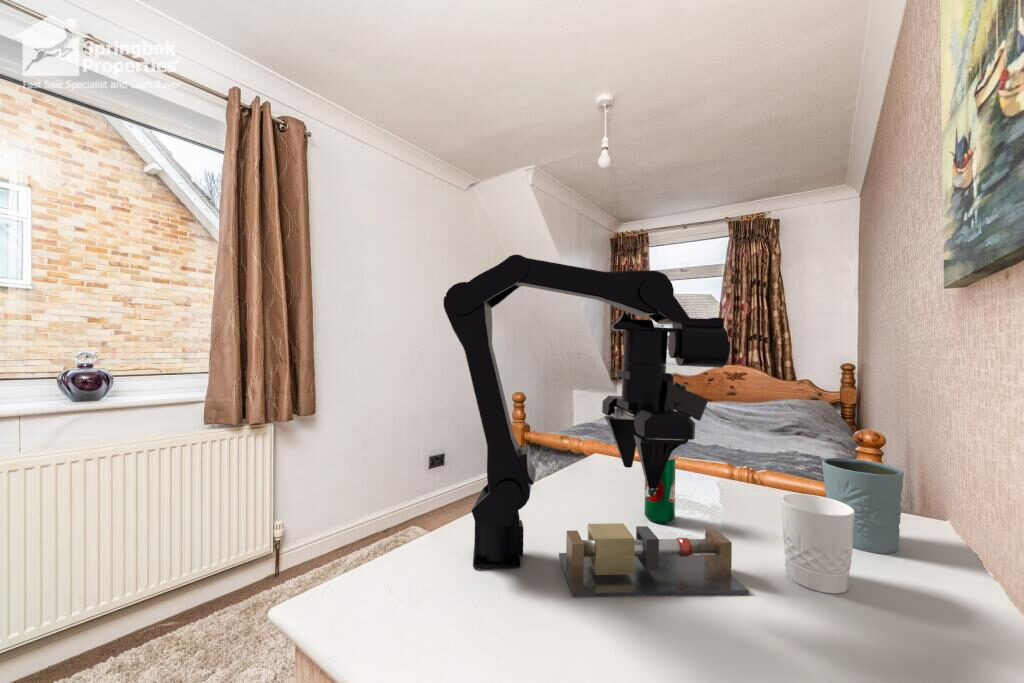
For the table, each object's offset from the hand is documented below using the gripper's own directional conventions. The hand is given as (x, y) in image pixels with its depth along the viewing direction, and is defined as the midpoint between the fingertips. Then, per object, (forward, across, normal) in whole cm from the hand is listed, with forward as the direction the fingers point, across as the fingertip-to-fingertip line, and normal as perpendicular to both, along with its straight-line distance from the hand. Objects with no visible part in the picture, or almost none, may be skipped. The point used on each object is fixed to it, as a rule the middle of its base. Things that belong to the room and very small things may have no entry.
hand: (639, 476), depth 60 cm
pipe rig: (+12, -2, -1) cm, 13 cm away
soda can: (+12, +16, -10) cm, 22 cm away
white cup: (+12, -4, -23) cm, 26 cm away
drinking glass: (+11, +6, -39) cm, 41 cm away
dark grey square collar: (+11, -2, -1) cm, 11 cm away
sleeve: (+11, -2, +4) cm, 12 cm away
